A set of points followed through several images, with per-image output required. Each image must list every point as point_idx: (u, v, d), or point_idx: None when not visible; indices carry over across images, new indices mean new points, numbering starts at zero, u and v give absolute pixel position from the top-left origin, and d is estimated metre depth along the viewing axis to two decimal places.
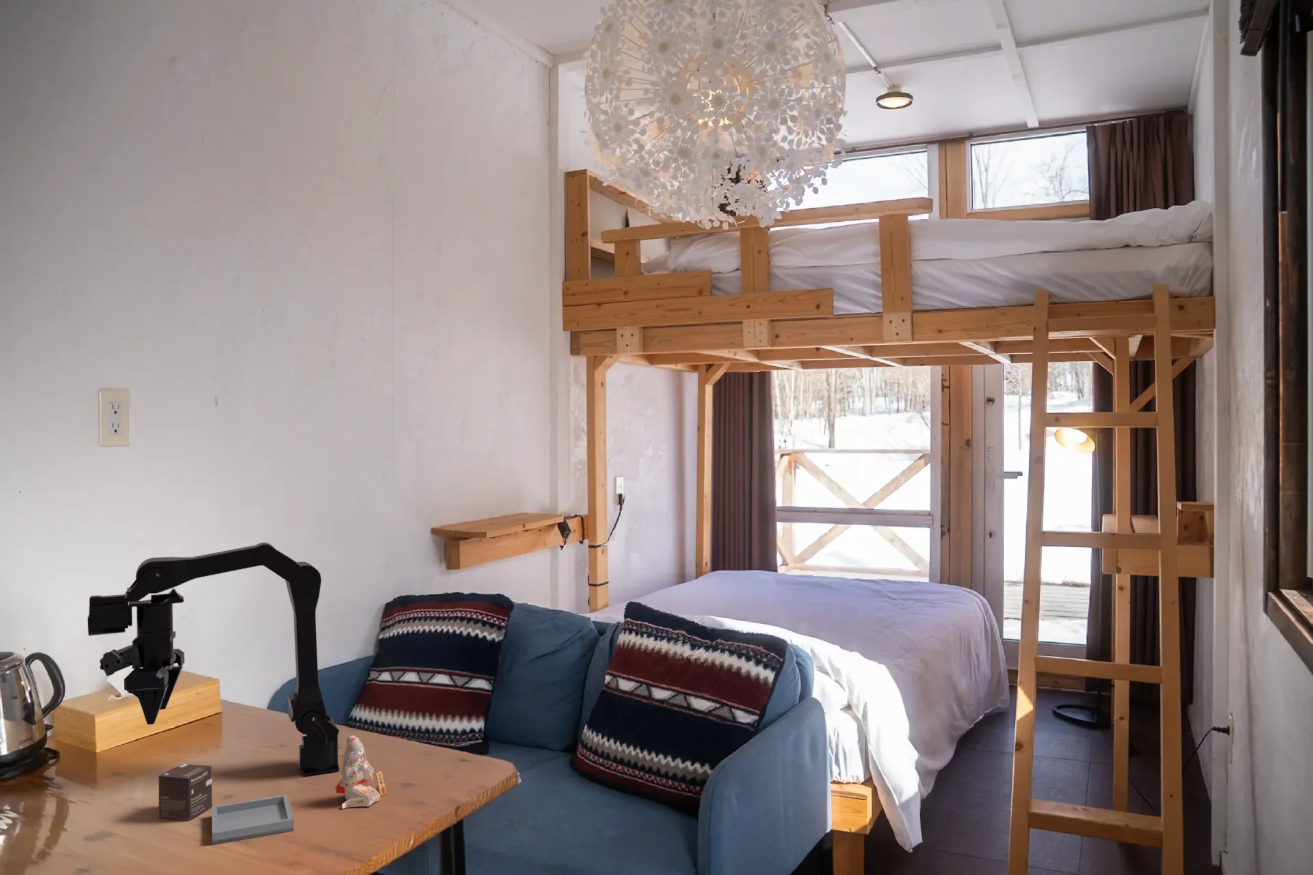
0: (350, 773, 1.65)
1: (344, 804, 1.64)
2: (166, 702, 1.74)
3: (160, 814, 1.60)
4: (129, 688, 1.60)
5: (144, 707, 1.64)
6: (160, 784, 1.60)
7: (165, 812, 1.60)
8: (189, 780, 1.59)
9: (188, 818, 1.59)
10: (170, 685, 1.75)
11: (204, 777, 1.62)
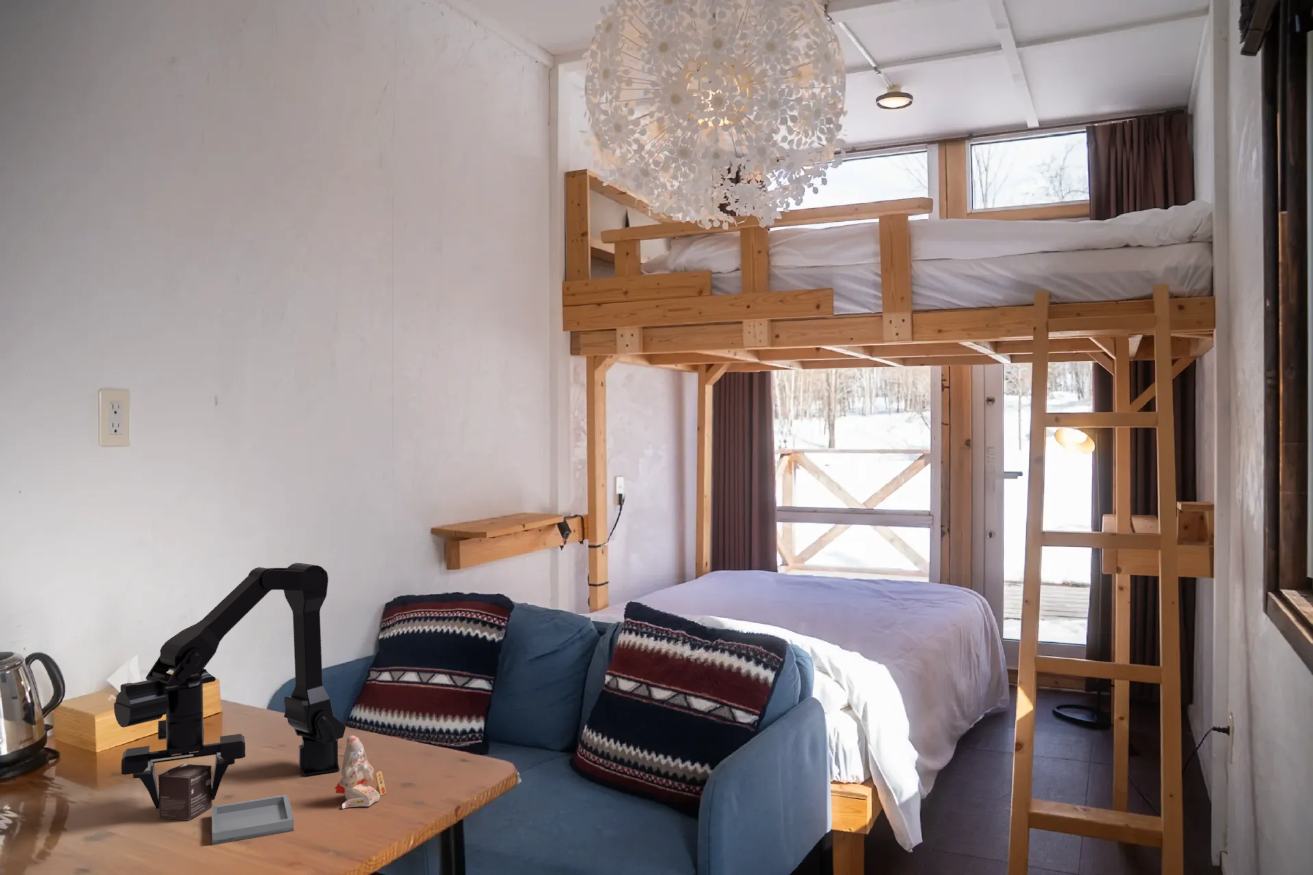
0: (350, 773, 1.65)
1: (344, 804, 1.64)
2: None
3: (160, 814, 1.60)
4: None
5: None
6: (160, 784, 1.60)
7: (164, 811, 1.60)
8: (189, 780, 1.59)
9: (188, 818, 1.59)
10: None
11: (203, 777, 1.62)
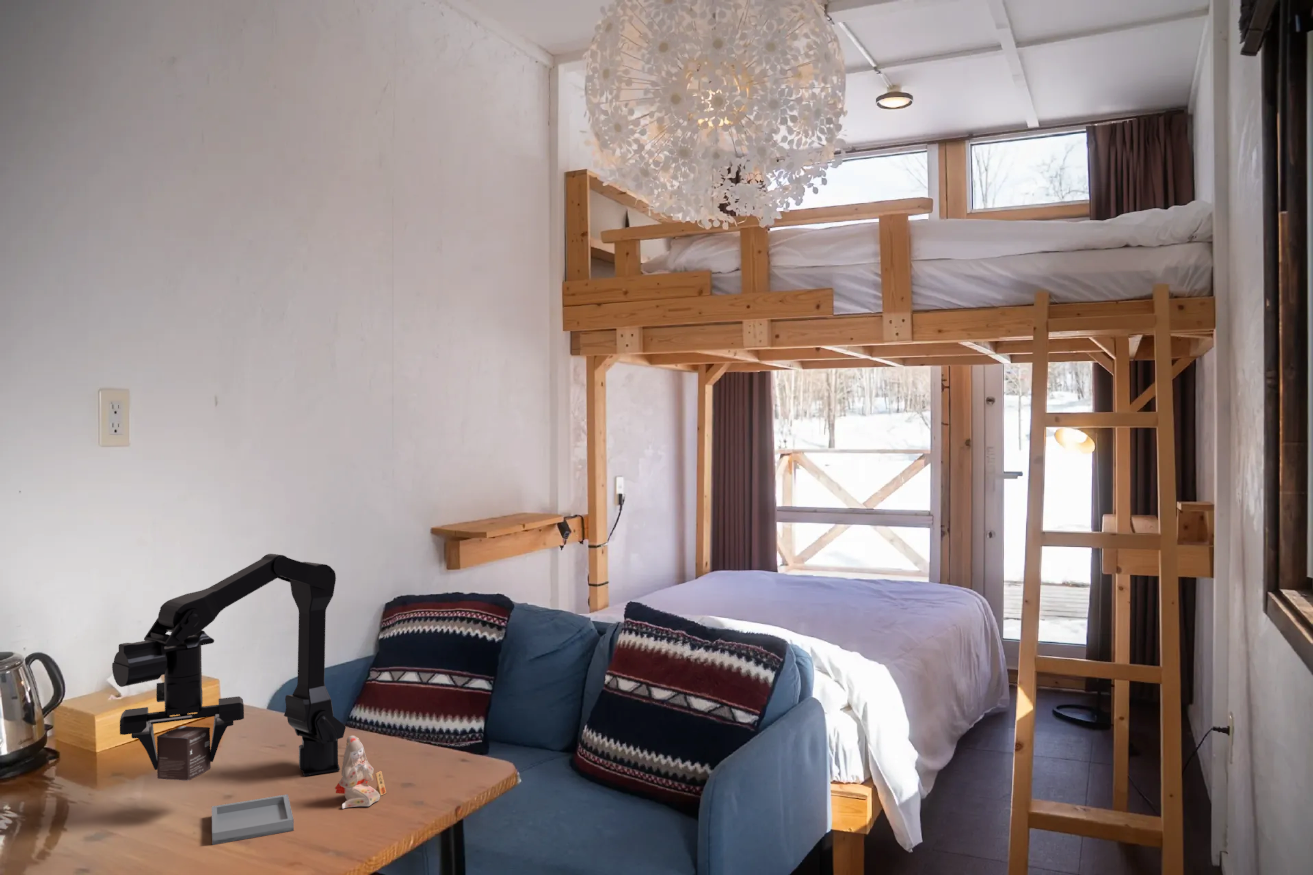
0: (350, 773, 1.65)
1: (344, 804, 1.64)
2: (210, 755, 1.63)
3: (159, 775, 1.60)
4: None
5: None
6: (158, 745, 1.60)
7: (163, 772, 1.59)
8: (188, 740, 1.59)
9: (187, 778, 1.59)
10: None
11: (202, 738, 1.62)
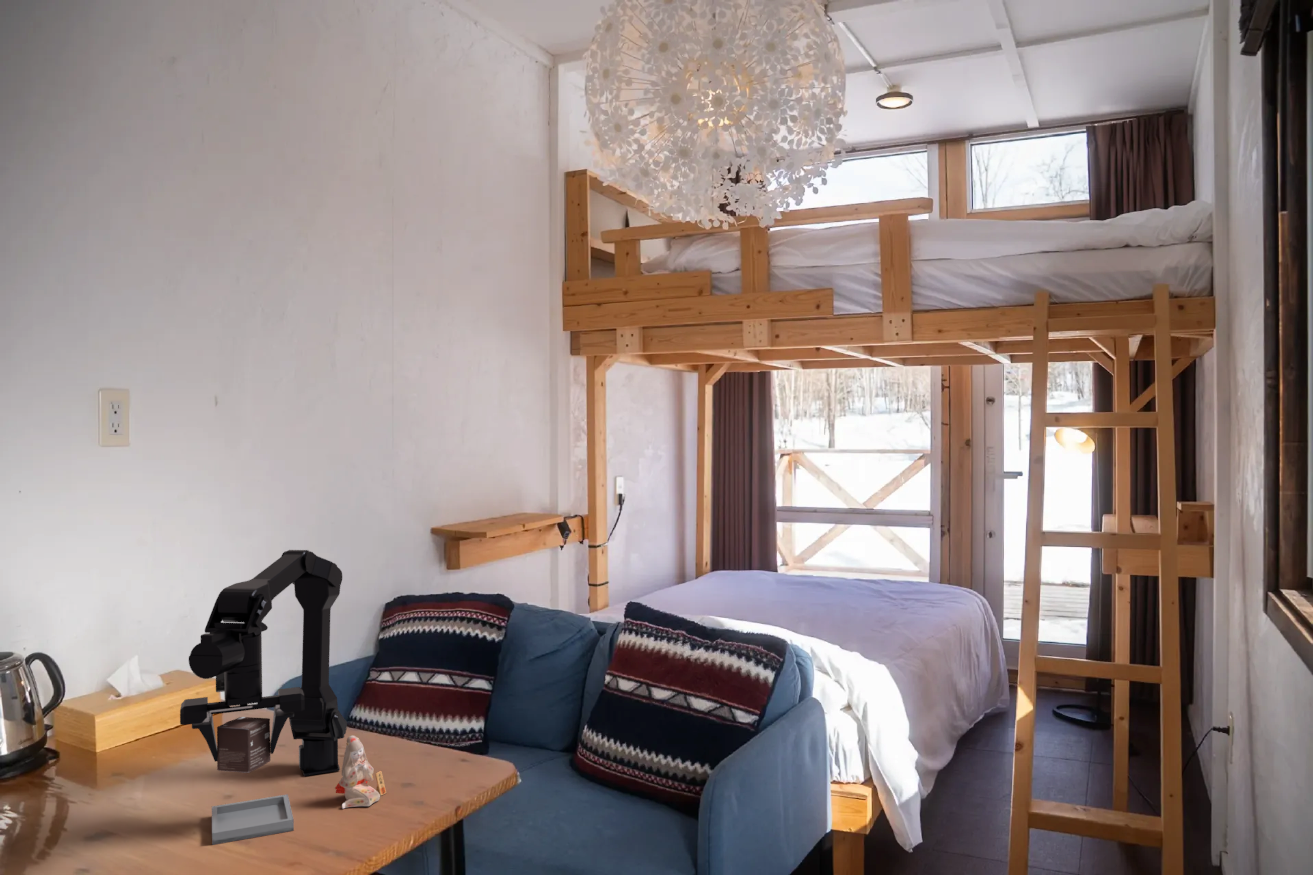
0: (350, 773, 1.65)
1: (344, 804, 1.64)
2: (270, 747, 1.59)
3: (218, 766, 1.55)
4: None
5: None
6: (219, 735, 1.55)
7: (223, 764, 1.55)
8: (249, 731, 1.55)
9: (247, 770, 1.54)
10: None
11: (262, 729, 1.58)
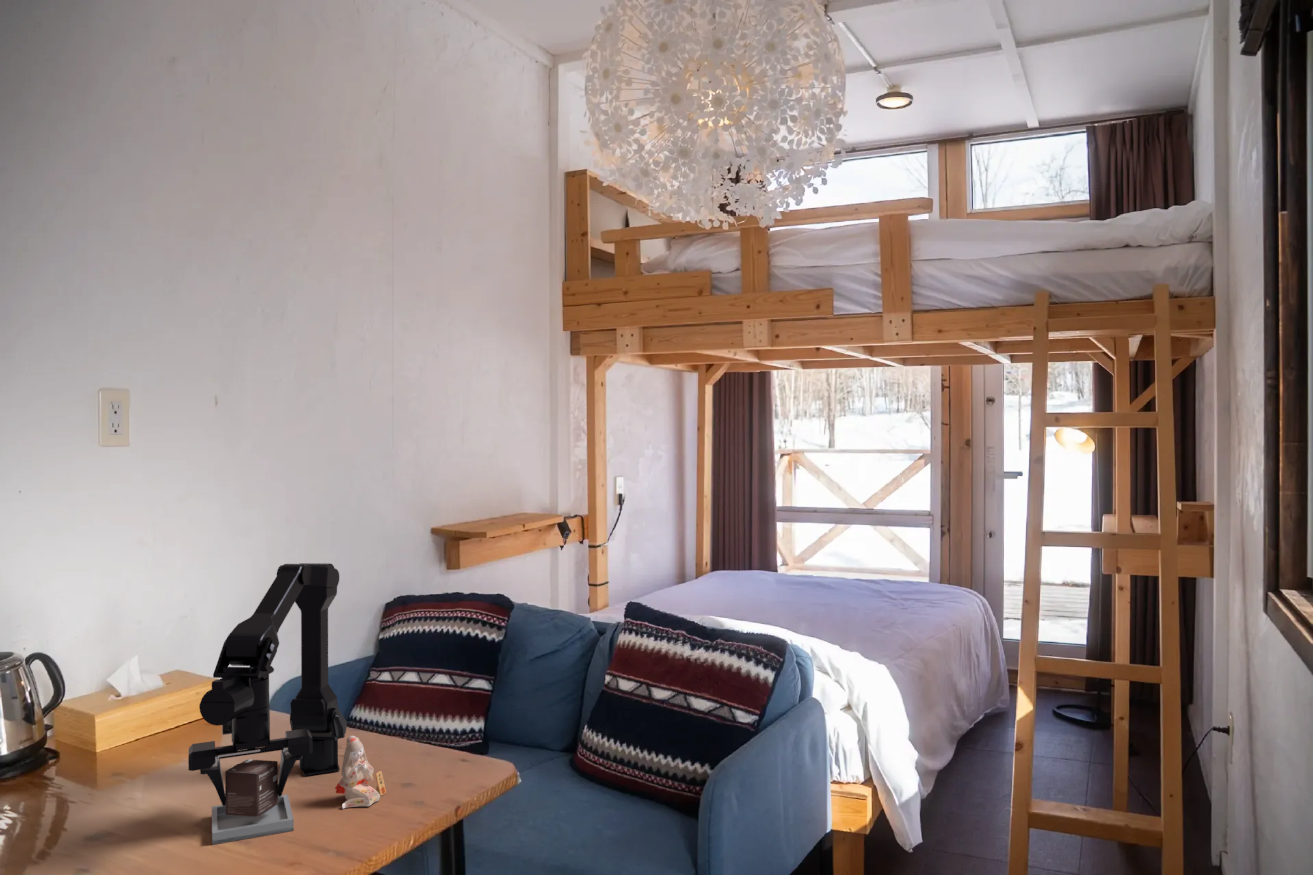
0: (350, 773, 1.65)
1: (344, 804, 1.64)
2: (278, 790, 1.59)
3: (227, 811, 1.55)
4: None
5: None
6: (227, 780, 1.55)
7: (231, 808, 1.55)
8: (258, 775, 1.54)
9: (256, 815, 1.54)
10: None
11: (271, 772, 1.58)
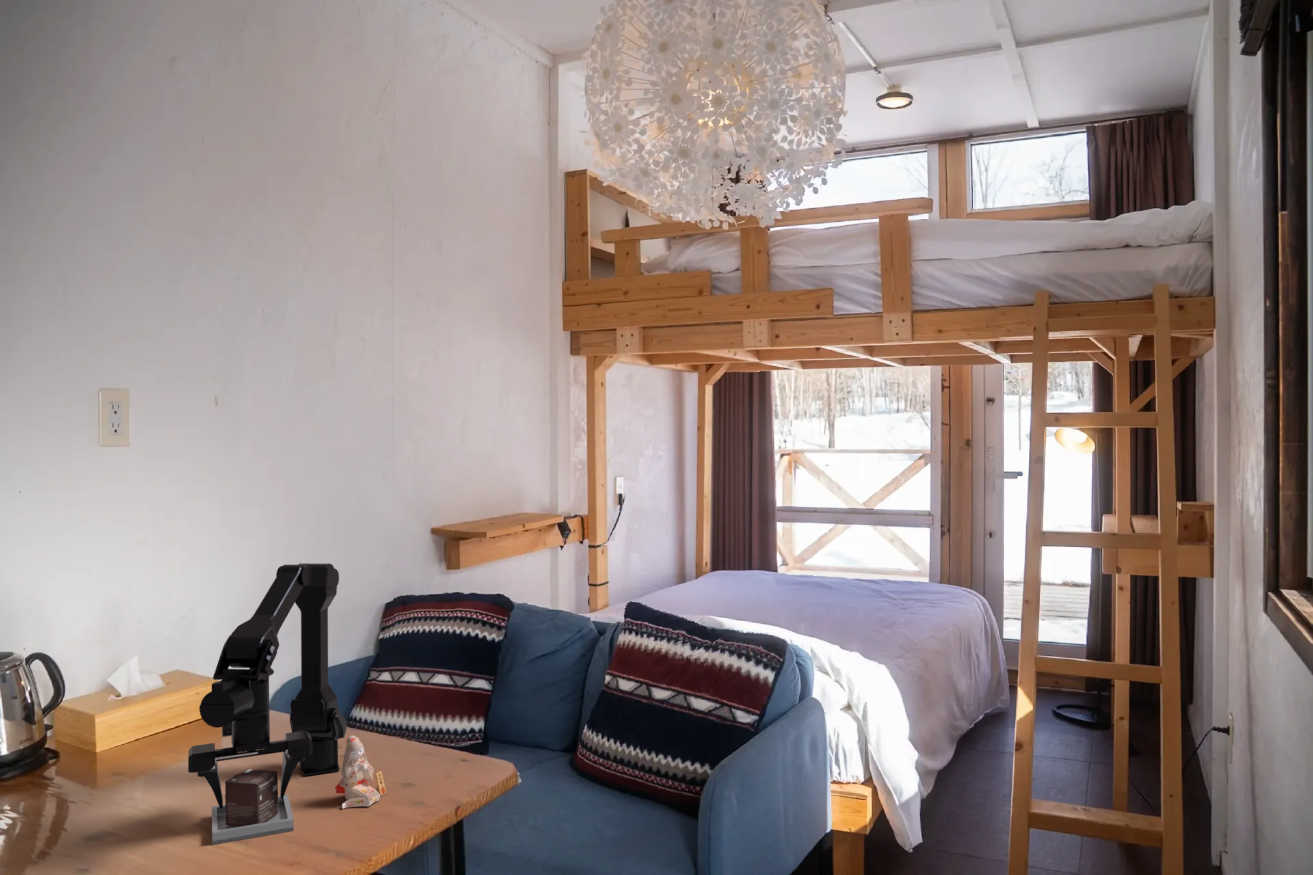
0: (350, 773, 1.65)
1: (344, 804, 1.64)
2: (280, 792, 1.59)
3: (227, 821, 1.55)
4: None
5: None
6: (227, 790, 1.55)
7: (232, 819, 1.55)
8: (258, 785, 1.54)
9: None
10: None
11: (271, 782, 1.58)
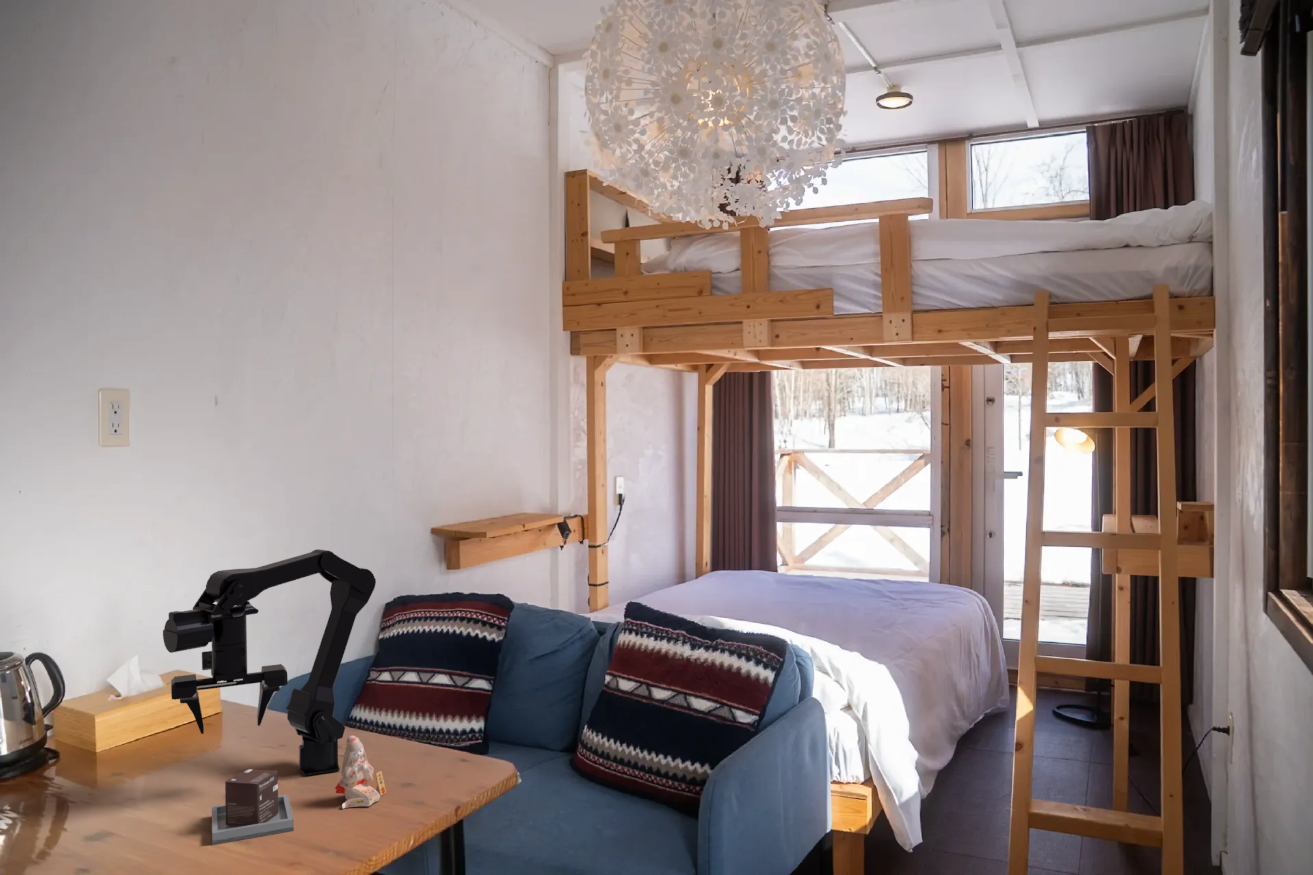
0: (350, 773, 1.65)
1: (344, 804, 1.64)
2: (257, 719, 1.71)
3: (227, 821, 1.55)
4: None
5: None
6: (227, 790, 1.55)
7: (232, 819, 1.55)
8: (258, 785, 1.54)
9: None
10: None
11: (271, 782, 1.58)
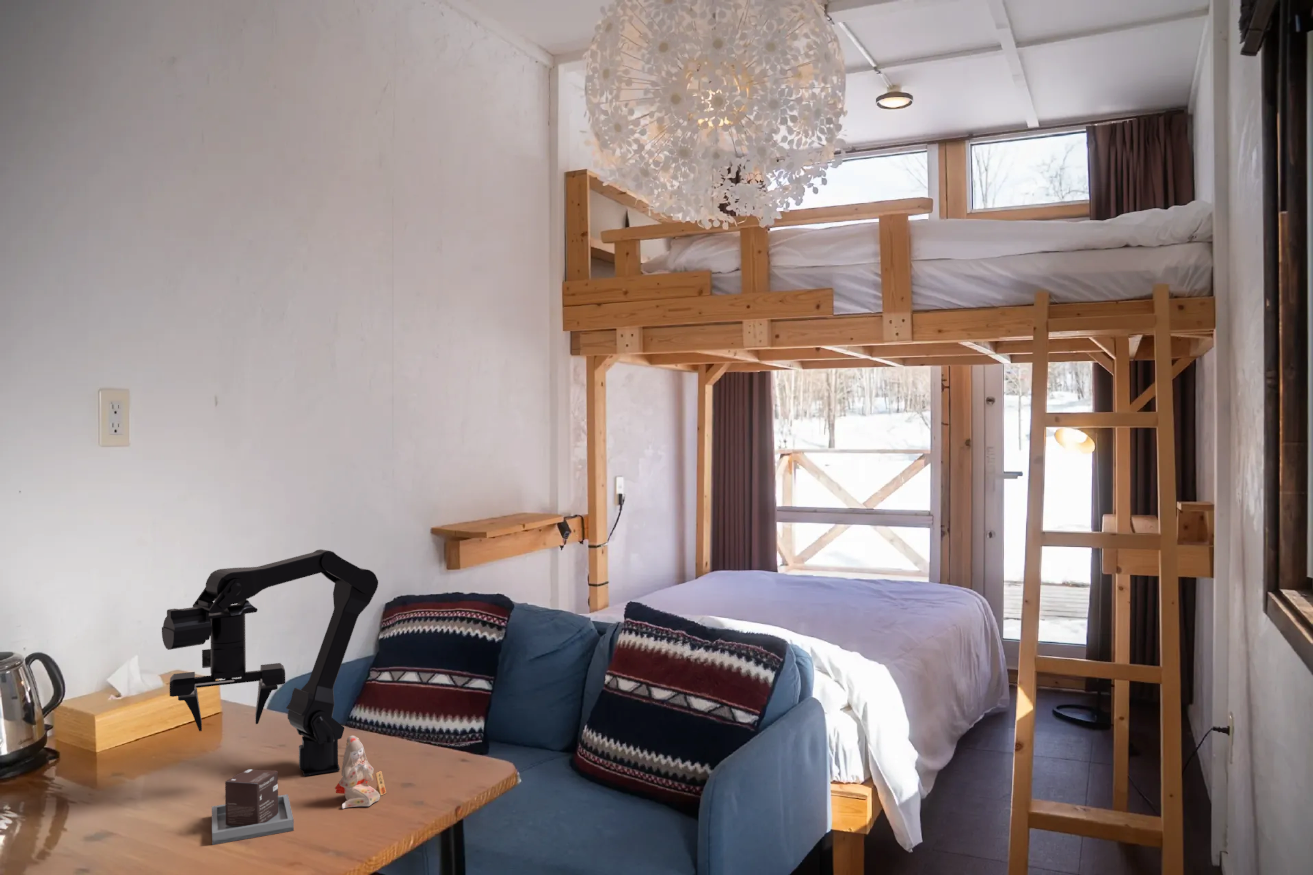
0: (350, 773, 1.65)
1: (344, 804, 1.64)
2: (255, 717, 1.72)
3: (227, 821, 1.55)
4: None
5: None
6: (227, 790, 1.55)
7: (232, 819, 1.55)
8: (258, 785, 1.54)
9: None
10: None
11: (271, 782, 1.58)
